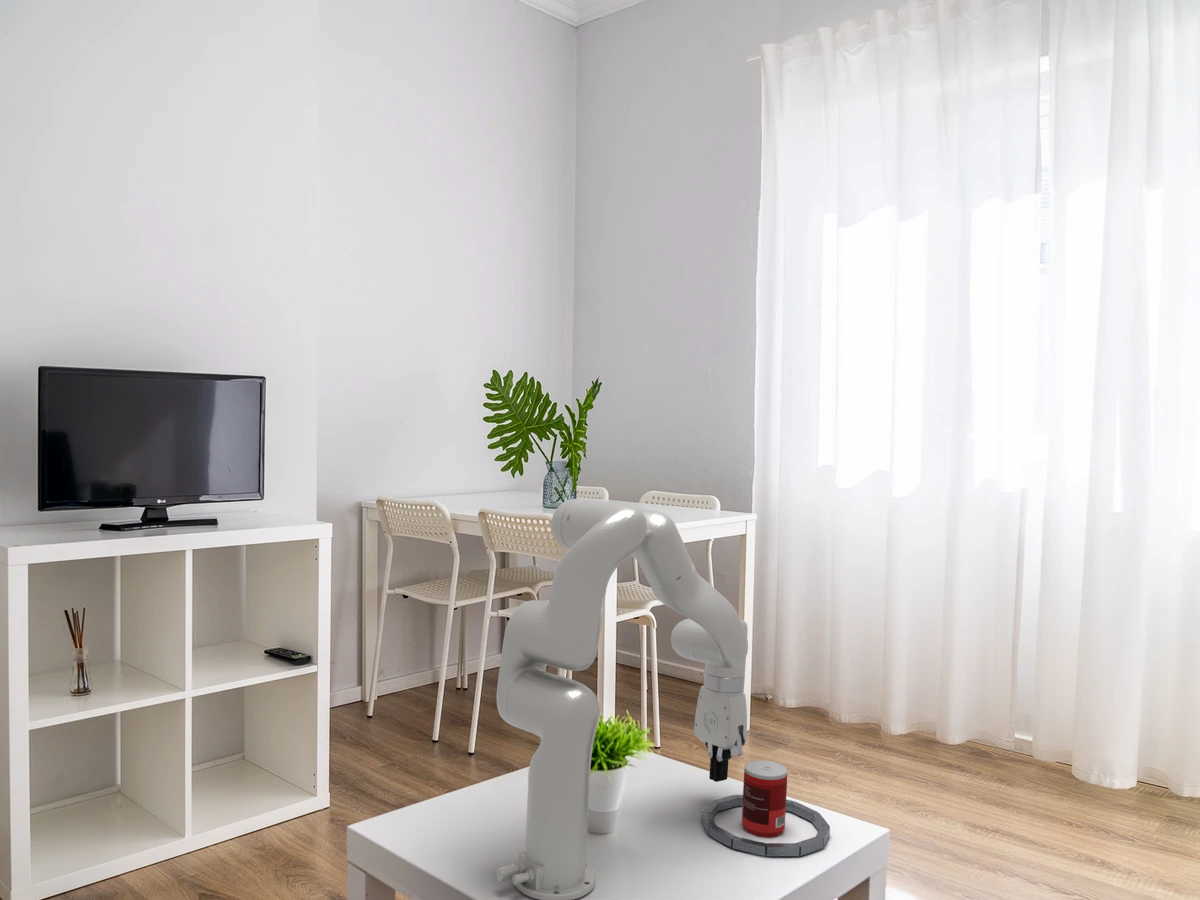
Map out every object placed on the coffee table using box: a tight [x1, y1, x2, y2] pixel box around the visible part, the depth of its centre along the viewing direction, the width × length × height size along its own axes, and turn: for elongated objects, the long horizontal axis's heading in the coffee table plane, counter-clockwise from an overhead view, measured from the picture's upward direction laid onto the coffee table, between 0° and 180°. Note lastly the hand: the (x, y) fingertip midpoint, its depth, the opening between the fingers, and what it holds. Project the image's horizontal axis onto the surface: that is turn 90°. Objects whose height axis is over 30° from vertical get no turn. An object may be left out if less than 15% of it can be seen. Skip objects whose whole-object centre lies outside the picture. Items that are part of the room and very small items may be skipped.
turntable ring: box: [700, 794, 831, 857], centre depth 166 cm, size 22×22×3 cm
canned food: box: [741, 759, 788, 838], centre depth 166 cm, size 8×8×11 cm
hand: (718, 779), depth 175 cm, fingers closed
